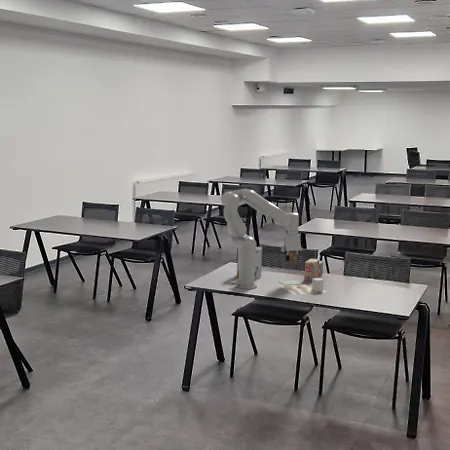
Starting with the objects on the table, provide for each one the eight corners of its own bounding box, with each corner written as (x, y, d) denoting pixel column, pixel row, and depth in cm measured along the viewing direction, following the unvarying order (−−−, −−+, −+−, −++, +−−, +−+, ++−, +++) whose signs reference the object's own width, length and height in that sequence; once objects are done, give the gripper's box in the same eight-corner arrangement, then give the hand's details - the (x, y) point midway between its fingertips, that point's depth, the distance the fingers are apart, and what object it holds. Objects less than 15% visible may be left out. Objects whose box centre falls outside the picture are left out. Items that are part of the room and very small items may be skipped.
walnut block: (289, 263, 386) (289, 252, 385) (286, 261, 390) (286, 250, 389) (296, 262, 387) (297, 251, 386) (293, 261, 392) (293, 250, 391)
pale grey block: (315, 291, 371) (316, 280, 370) (311, 289, 376) (312, 278, 374) (323, 291, 373) (323, 279, 372) (319, 289, 377) (319, 277, 376)
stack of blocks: (313, 273, 419) (314, 255, 417) (322, 274, 416) (323, 256, 414) (304, 280, 400) (304, 261, 398) (313, 281, 397) (314, 262, 395)
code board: (294, 295, 363) (294, 294, 363) (280, 286, 382) (280, 286, 382) (327, 292, 371) (327, 292, 371) (311, 284, 389) (311, 283, 389)
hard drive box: (236, 277, 404) (236, 247, 401) (238, 274, 411) (239, 245, 408) (259, 279, 401) (260, 249, 397) (261, 276, 408) (262, 246, 405)
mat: (284, 285, 385) (284, 284, 385) (278, 282, 393) (278, 281, 393) (302, 284, 389) (302, 283, 389) (295, 280, 397) (295, 280, 397)
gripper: (282, 234, 379) (281, 263, 382) (307, 232, 385) (306, 261, 388) (277, 232, 386) (276, 260, 389) (301, 230, 392) (300, 258, 395)
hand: (291, 260), depth 389 cm, fingers closed on walnut block, 5 cm apart
